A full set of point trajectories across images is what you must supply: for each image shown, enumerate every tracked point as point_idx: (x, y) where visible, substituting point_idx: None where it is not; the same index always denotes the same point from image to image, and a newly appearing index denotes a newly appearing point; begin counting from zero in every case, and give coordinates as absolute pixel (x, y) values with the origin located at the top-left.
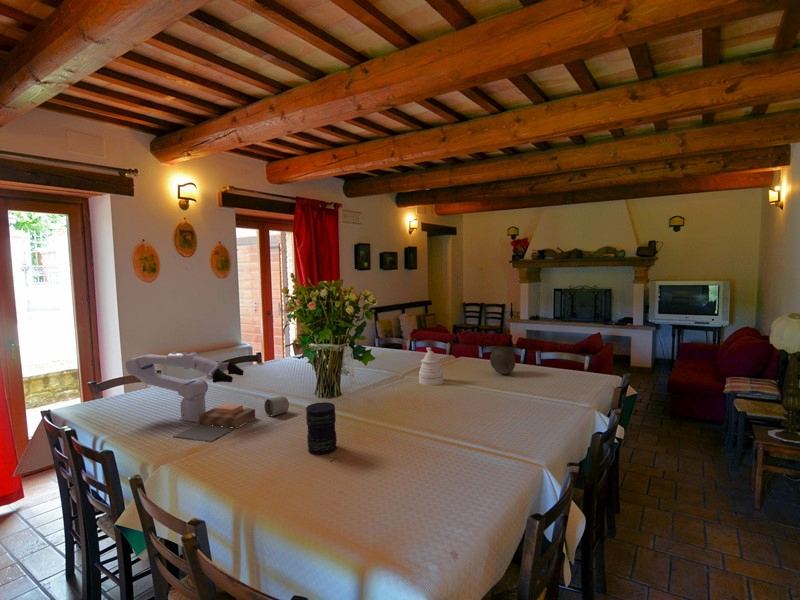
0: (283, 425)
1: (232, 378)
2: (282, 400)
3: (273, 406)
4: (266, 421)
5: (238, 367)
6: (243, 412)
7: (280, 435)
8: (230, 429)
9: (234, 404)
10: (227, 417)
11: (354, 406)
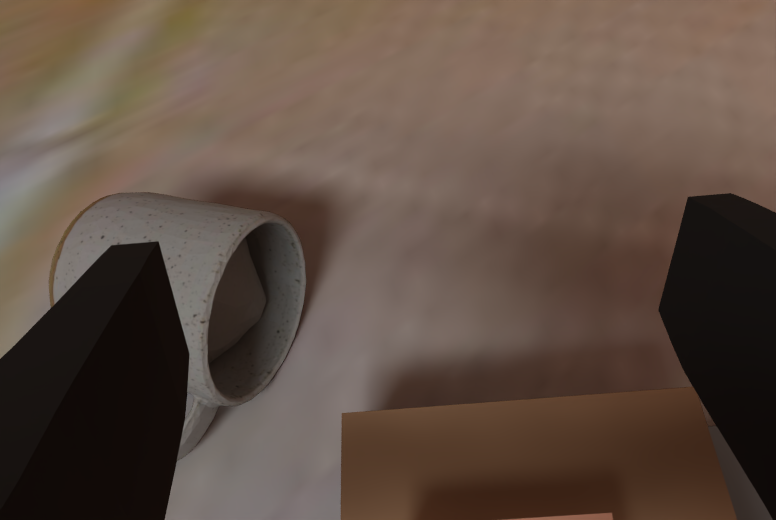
0: (439, 145)
1: (687, 225)
2: (167, 197)
3: (289, 227)
4: (404, 301)
5: (5, 368)
6: (492, 451)
7: (599, 67)
8: None
9: None
10: (723, 513)
11: (21, 5)
